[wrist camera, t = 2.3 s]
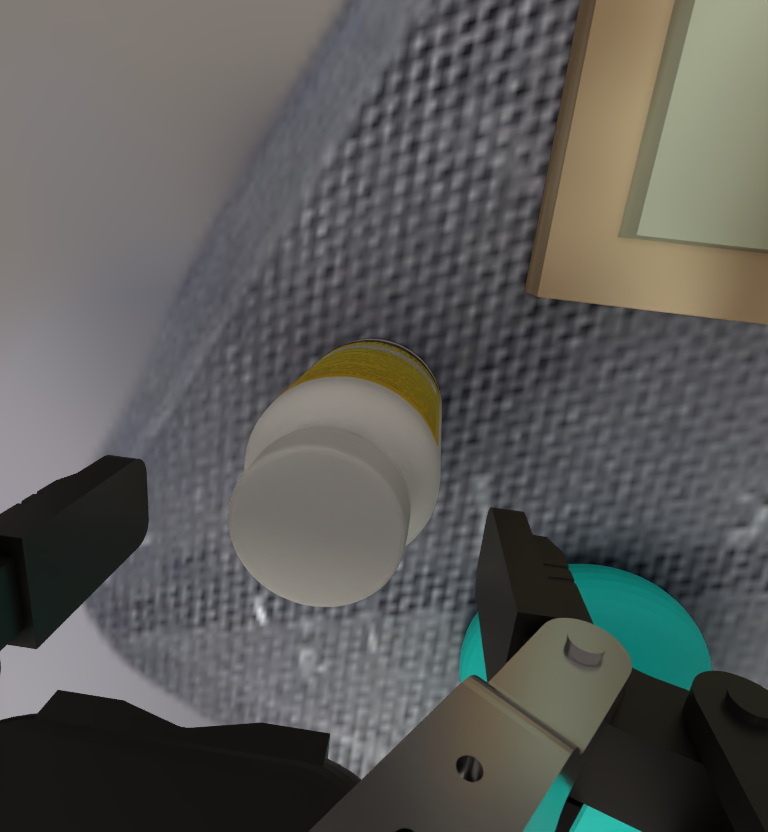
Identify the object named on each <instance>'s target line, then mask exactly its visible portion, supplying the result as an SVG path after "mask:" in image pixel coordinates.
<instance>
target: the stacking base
mask: <svg viewBox="0 0 768 832" xmlns="http://www.w3.org/2000/svg"><path fill="white" fill-rule="evenodd" d="M524 292H527V293H529V294H531V295H534V296H536V297H542V298H550V299H559V300H567V301H575V302H583V303H592V304H600V305H608V306H617V307H625V308H633V309H642V310H650V311H658V312H667V313H675V314H683V315H692V316H700V317H708V318H717V319H725V320H733V321H742V322H750V323H758V324H767V325H768V0H580V4H579V9H578V15H577V20H576V25H575V30H574V35H573V41H572V46H571V51H570V56H569V62H568V67H567V72H566V77H565V82H564V88H563V93H562V98H561V103H560V109H559V114H558V119H557V124H556V129H555V135H554V140H553V145H552V150H551V156H550V161H549V166H548V171H547V176H546V182H545V187H544V192H543V197H542V203H541V208H540V213H539V218H538V223H537V229H536V234H535V239H534V244H533V249H532V255H531V260H530V265H529V270H528V276H527V281H526V286H525V291H524Z"/></svg>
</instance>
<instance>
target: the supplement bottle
mask: <svg viewBox="0 0 768 832" xmlns="http://www.w3.org/2000/svg"><path fill="white" fill-rule="evenodd" d="M441 425H442V401H441V395H440V390H439V387H438V384H437V382H436V379H435V377H434V375H433V374H432V372H431V371H430V369H429V368H428V366H427V365H426V364H425V363H424V361H423V360H422V359H421V358H420V357H418V356H417V355H416V354H415V353H413V352H412V351H410V350H409V349H407V348H405V347H403V346H401V345H399V344H397V343H394V342H391V341H387V340H381V339H361V340H356V341H352V342H349V343H346V344H343V345H341V346H339V347H337V348H335V349H333V350H332V351H330V352H329V353H327V354H326V355H325V356H324V357H323V358H321V359H320V360H319V361H318V362H317V363H316V364H315V365H314V366H312V367H311V368H310V369H309V370H308V371H307V372H305V373H304V374H303V375H302V376H301V377H300V378H299V379H298V380H297V381H296V382H294V383H293V384H292V385H291V386H290V387H289V388H288V389H286V390H285V391H284V392H283V393H282V394H281V395H280V396H278V397H277V399H276V400H275V401H274V402H273V403H272V404H271V405H270V406H269V407H268V408H267V410H266V411H265V412H264V413H263V414H262V416H261V417H260V419H259V420H258V421H257V423H256V425H255V427H254V429H253V431H252V433H251V436H250V438H249V441H248V445H247V449H246V454H245V466H244V471H245V472H244V474H243V475H242V476H241V478H240V479H239V481H238V482H237V484H236V486H235V488H234V490H233V493H232V496H231V500H230V504H229V513H228V526H229V532H230V537H231V541H232V544H233V546H234V549H235V551H236V553H237V555H238V557H239V559H240V561H241V562H242V563H243V565H244V566H245V567H246V569H247V570H248V571H249V573H250V574H251V575H252V576H253V577H254V578H255V579H256V580H257V581H258V582H259V583H261V584H262V585H263V586H264V587H266V588H267V589H269V590H270V591H272V592H273V593H275V594H277V595H279V596H281V597H283V598H285V599H288V600H290V601H293V602H296V603H300V604H304V605H309V606H316V607H336V606H343V605H348V604H351V603H355V602H357V601H360V600H362V599H365V598H366V597H368V596H370V595H372V594H373V593H375V592H376V591H378V590H379V589H380V588H382V587H383V586H384V585H385V584H386V583H387V582H388V581H389V579H390V578H391V577H392V576H393V574H394V573H395V571H396V570H397V568H398V566H399V564H400V562H401V560H402V557H403V555H404V551H405V547H406V546H407V545H408V544H409V543H410V542H412V541H413V540H414V539H415V538H416V537H417V536H418V535H419V533H420V532H421V531H422V530H423V528H424V527H425V526H426V524H427V523H428V521H429V519H430V517H431V515H432V513H433V511H434V508H435V505H436V502H437V499H438V495H439V489H440V480H441Z"/></svg>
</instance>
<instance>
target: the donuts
mask: <svg viewBox="0 0 768 832" xmlns="http://www.w3.org/2000/svg"><path fill="white" fill-rule="evenodd" d="M568 567H569V570H570V571H571V573H572V576H573V578H574V583H576V585H577V587H578V589H579V592H580V594H581V596H582V598H583V601H584V603H585V605H586V607H587V610H588V612H589V614H590V617H591V619H592V621H593V623H594V625H596V626H598V627H600V628H601V629H603V630H605V631H606V632H608V633H609V634H611V635H612V636H613V637H615V638H616V639H617V640H618V641H619V642H620V643H621V644H622V645H623V646H624V648H625V649H626V651H627V652H628V654H629V656H630V658H631V662H632V667H633V668H635V669H636V670H638V671H640V672H642V673H645V674H647V675H649V676H652V677H654V678H657V679H660V680H662V681H665V682H668V683H670V684H673V685H675V686H678V687H681V688H683V689H686V690H690V688H691V685H692V682H693V680H694V678H695V677H696V676H697V675H698V674H700V673H702V672H706V671H712V665H711V659H710V655H709V651H708V649H707V646H706V643H705V641H704V638H703V636H702V634H701V632H700V630H699V628H698V626H697V625H696V623H695V622H694V621H693V619H692V618H691V616H690V615H689V614H688V612H687V611H686V610H685V609H684V608H683V607H682V606H681V605H680V604H679V603H678V602H677V601H676V600H675V599H674V598H673V597H672V596H670V595H669V594H668V593H667V592H665V591H664V590H663V589H661V588H660V587H658V586H657V585H655V584H653V583H652V582H650V581H648V580H646V579H644V578H642V577H640V576H638V575H635V574H633V573H630V572H627V571H624V570H620V569H617V568H612V567H608V566H602V565H595V564H568ZM471 675H477V676H479V677H480V678H481V679H483V680H484V681H486V682H487V677H486V670H485V662H484V654H483V647H482V639H481V631H480V624H479V616H478V612H477V613H476V615H475V616H474V618H473V619H472V621H471V623H470V625H469V627H468V629H467V632H466V634H465V637H464V641H463V644H462V648H461V653H460V681H461V683H462V682H463V681H464V680H465V679H466V678H468V677H469V676H471ZM574 832H641V831H639V830H637V829H635V828H633V827H631V826H629V825H627V824H625V823H623V822H621V821H618V820H616V819H614V818H612V817H610V816H608V815H606V814H604V813H602V812H600V811H598V810H596V809H594V808H592V807H590V806H587V808H586V810H585V812H584V814H583V816H582V817H581V819H580V821H579V823H578V825H577V827H576V829H575V831H574Z"/></svg>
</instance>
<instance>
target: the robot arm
mask: <svg viewBox="0 0 768 832" xmlns="http://www.w3.org/2000/svg"><path fill="white" fill-rule="evenodd" d="M148 522H149V517H148V494H147V472H146V466H145V463H144V462H143V461H142V460H141V459H135V458H128V457H120V456H113V455H106V456H104V457H102V458H101V459H99V460H97V461H96V462H94V463H93V464H91V465H89V466H88V467H86V468H84V469H83V470H81V471H80V472H78V473H76V474H73V475H70V476H67V477H64V478H61V479H59V480H56V481H54V482H53V483H51V484H49V485H47V486H46V487H44V488H43V489H41V490H39V491H38V492H37V494H32V495H31V496H29V497H28V498H26V499H24V500H23V501H22V503H21V504H16V505H14V506H13V507H11V508H9V509H8V510H6V511H4V512H3V513H1V514H0V651H1V650H2V649H3V648H4V647H5V646H6V645H7V644H8V645H13V646H20V647H27V648H33V649H37V648H38V647H39V646H40V645H41V644H42V643H43V642H44V641H45V640H46V639H47V638H48V637H49V636H50V635H51V634H52V633H53V632H54V631H55V630H56V629H57V628H58V627H59V626H60V625H61V624H62V623H63V622H64V621H65V620H66V619H67V618H68V617H69V616H70V615H71V614H72V613H73V612H74V611H75V610H76V609H77V608H78V607H79V606H80V605H81V604H82V603H83V602H84V601H85V600H86V599H87V598H88V597H89V596H90V595H91V594H92V593H93V592H94V591H95V590H96V589H97V588H98V587H99V586H100V585H101V584H102V583H103V582H104V581H105V580H106V579H107V578H108V577H109V576H110V575H111V574H112V573H113V572H114V571H115V570H116V569H117V568H118V567H119V566H120V565H121V564H122V563H123V562H124V561H125V560H126V559H127V558H128V557H129V556H130V555H131V554H132V553H133V552H134V551H135V550H136V549H137V548H138V547H139V546H140V545H141V543H142V542H143V540H144V538H145V535H146V532H147V529H148ZM476 601H477V609H478V616H479V624H480V631H481V639H482V647H483V654H484V662H485V670H486V677H487V682H486V681H484V680H483V679H481V678H480V677H479V676H477V675H471V676H469V677H468V678H466V679H465V680H464V681H463V682H462V683H460V684H459V685H458V686H457V687H456V688H455V689H454V690H453V691H452V692H451V693H450V694H449V695H448V696H447V697H446V698H445V699H444V700H443V701H442V702H441V703H440V704H439V705H438V706H437V707H436V708H435V709H434V710H433V711H432V712H431V713H430V714H429V715H428V716H427V717H426V718H424V719H423V720H422V721H421V722H420V723H419V724H418V725H417V726H416V727H415V728H414V729H413V730H412V731H411V732H410V733H409V734H408V735H407V736H406V737H405V738H404V739H403V740H402V741H401V742H400V743H399V744H398V745H397V746H396V747H395V748H394V749H393V750H392V751H391V752H390V753H389V754H387V755H386V756H385V757H384V758H383V759H382V760H381V761H380V762H379V763H378V764H377V765H376V766H375V767H374V768H373V769H372V770H371V771H370V772H369V773H368V774H367V775H366V776H365V777H364V778H363V779H362V780H361V779H360V778H359V777H357V776H356V775H355V774H354V773H352V772H351V771H349V770H347V769H346V768H344V767H343V766H341V765H340V764H337V763H335V762H333V761H331V760H329V759H328V750H329V740H330V734H329V733H323V732H317V731H310V730H304V729H298V728H292V727H286V726H279V725H273V724H267V723H250V724H237V725H223V726H209V727H195V728H185V727H180V726H177V725H175V724H173V723H170V722H168V721H166V720H164V719H162V718H160V717H158V716H155V715H153V714H151V713H149V712H147V711H145V710H143V709H141V708H138V707H136V706H134V705H132V704H130V703H127V702H126V701H123V700H117V699H111V698H105V697H99V696H93V695H86V694H80V693H74V692H68V691H61V690H57V692H56V693H55V694H54V695H53V696H52V697H51V698H50V700H49V701H48V702H47V703H46V704H45V705H44V707H43V708H42V709H41V710H40V711H39V713H37V714H28V715H22V716H16V717H11V718H7V719H3V720H0V832H574V831H575V829H576V827H577V825H578V823H579V821H580V819H581V817H582V816H583V814H584V812H585V810H586V808H587V806H590V807H592V808H594V809H596V810H598V811H600V812H602V813H604V814H606V815H608V816H610V817H612V818H614V819H616V820H618V821H621V822H623V823H625V824H627V825H629V826H631V827H633V828H635V829H637V830H639V831H641V832H768V690H766V689H765V688H763V687H761V686H760V685H758V684H756V683H754V682H752V681H750V680H748V679H745V678H743V677H740V676H737V675H734V674H731V673H727V672H722V671H706V672H702V673H700V674H698V675H697V676H696V677H695V678H694V680H693V682H692V685H691V688H690V690H686V689H683V688H681V687H678V686H675V685H673V684H670V683H668V682H665V681H662V680H660V679H657V678H654V677H652V676H649V675H647V674H645V673H642V672H640V671H638V670H636V669H635V668H633V667H632V662H631V658H630V656H629V654H628V652H627V651H626V649H625V648H624V646H623V645H622V644H621V643H620V642H619V641H618V640H617V639H616V638H615V637H613V636H612V635H611V634H609V633H608V632H606V631H605V630H603V629H601V628H600V627H598V626H596V625H594V623H593V621H592V619H591V617H590V614H589V612H588V610H587V607H586V605H585V603H584V601H583V598H582V596H581V594H580V592H579V589H578V587H577V585H576V583H574V578H573V576H572V573H571V571H570V570H569V567H568V564H567V562H566V560H565V557H564V555H563V553H562V551H561V550H560V549H559V548H558V547H557V546H555V545H554V544H553V543H552V542H551V541H550V540H549V539H548V538H547V537H543V536H535V535H533V534H532V532H531V529H530V526H529V523H528V521H527V518H526V515H525V513H524V512H521V511H514V510H507V509H499V508H492V507H491V508H490V509H489V511H488V515H487V519H486V524H485V529H484V535H483V540H482V545H481V551H480V556H479V561H478V567H477V574H476ZM0 672H1V662H0Z"/></svg>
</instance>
